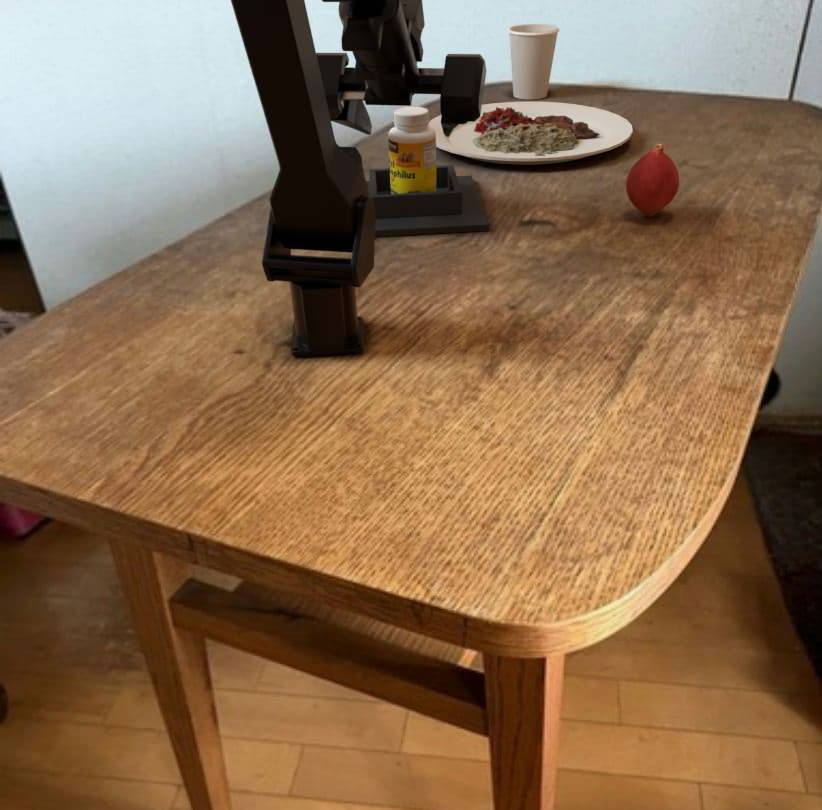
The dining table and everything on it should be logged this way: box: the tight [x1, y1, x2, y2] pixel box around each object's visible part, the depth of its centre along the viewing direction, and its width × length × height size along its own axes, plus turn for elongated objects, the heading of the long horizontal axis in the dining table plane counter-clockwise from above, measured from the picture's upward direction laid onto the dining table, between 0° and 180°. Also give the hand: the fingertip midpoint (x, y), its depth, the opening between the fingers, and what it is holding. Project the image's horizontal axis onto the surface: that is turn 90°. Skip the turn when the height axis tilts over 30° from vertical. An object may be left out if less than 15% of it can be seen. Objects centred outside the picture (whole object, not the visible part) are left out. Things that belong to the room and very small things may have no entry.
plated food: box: [429, 101, 633, 166], centre depth 124 cm, size 30×30×3 cm
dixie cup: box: [507, 23, 560, 100], centre depth 143 cm, size 8×8×10 cm
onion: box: [625, 143, 680, 218], centre depth 98 cm, size 6×6×8 cm
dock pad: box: [366, 164, 490, 238], centre depth 104 cm, size 18×16×3 cm
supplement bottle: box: [387, 106, 437, 194], centre depth 101 cm, size 6×6×10 cm
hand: (408, 131), depth 98 cm, fingers open, 9 cm apart
